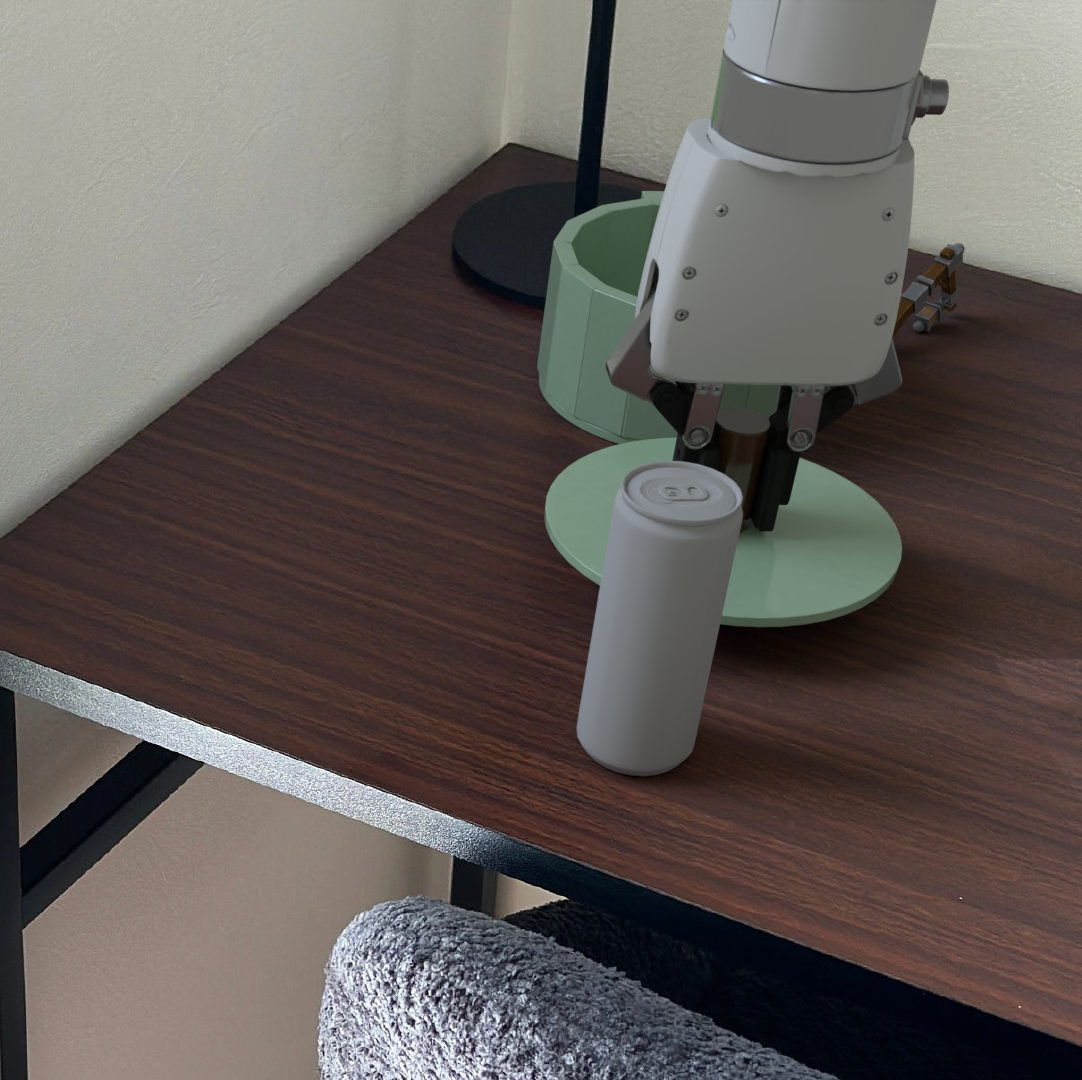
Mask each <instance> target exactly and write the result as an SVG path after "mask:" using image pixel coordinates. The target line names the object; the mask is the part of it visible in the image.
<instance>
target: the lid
mask: <svg viewBox="0 0 1082 1080" xmlns="http://www.w3.org/2000/svg"><path fill="white" fill-rule="evenodd" d="M714 430H715V432H716V434H715V438H714V440H715V442H716V445H717V447H718V449H719V452H720V459H719V464H718V469H717V471H719V472H721V473H723V474H725V475H726V476H728V477H729V478H730V479H732V480H733V481H734V482H735V483H736V484H737V485H738V486H739V488H740V489H741V492H742V496H743V500H742V504H741V507H742V511H743V518H742V523H741V528H740V532H739V537H738V542H737V547H736V551H735V556H734V561H733V565H732V570H731V575H730V580H729V584H728V589H727V594H726V598H725V603H724V608H723V612H722V617H721V622H720V625H723V626H731V627H745V628H785V627H794V626H795V627H796V626H805V625H810V624H816V623H821V622H827V621H830V620H832V619H833V620H834V619H836V618H839V617H843V616H846V615H848V614H851V613H853V612H856V611H859V610H860V609H862V608H864V607H866V606H867V605H869V604H871V603H872V602H875V601H876V600H877V599H878V598H880V596H881V595H883V594H884V593H885V592H886V591H887V590H888V589H889V587H890V586H891V585H892V583H893V582H894V581H895V579H896V576H897V574H898V572H899V569H900V566H901V563H902V556H903V543H902V537H901V535H900V532H899V530H898V528H897V527H898V526H897V525H896V523H895V522H894V520H893V519H892V516H891V515H890V514H889V513H888V511H887V510H886V509H885V508H884V507H883V506H882V505H881V504H880V503H879V501H877V500H876V499H875V498H874V497H873V496H872V495H870V494H869V493H868V492H867V491H866V490H864V489H863V488H861V487H860V486H858V485H857V484H855V483H854V482H852V481H851V480H849V479H847V478H846V477H844V476H842V475H840V474H838V472H837V473H836V472H835V471H833V470H830V469H828V468H826V467H824V466H822V465H820V464H817V463H816V462H812V461H809V460H807V459H805V458H802V457H800V458H799V463H798V467H797V471H796V476H795V480H794V484H793V488H792V493H791V497H790V501H789V503H788V504H787V505H779V508H778V512H777V517H776V521H775V525H774V529H773V531H759V528H755V526H754V523H753V521H752V519H751V515H752V510H753V506H754V501H755V497H756V492H757V488H758V483H759V479H760V474H761V470H762V465H763V461H764V456H765V452H766V447H767V443H768V439H769V434H770V430H771V423H770V421H769V420H768V419H767V418H766V417H765V416H763V415H762V414H759V413H757V412H754V411H750V410H745V409H729V410H725V411H722V412H720V413H719V414H718V415H717V418H716V422H715V426H714ZM676 439H677V438H658V439H646V440H640V441H633V442H627V443H623V444H615V445H614V444H613V445H611V446H607V447H605V448H602V449H599V450H596V451H593V452H591V453H589V454H586V455H584V456H583V457H580V458H579V459H577V460H575V461H574V462H572V463H571V464H569V465H567V467H566V468H564V469H563V470H562V471H561V472H560V473H559V474H558V475H557V477H555V479H554V481H553V482H552V483H551V485H550V487H549V489H548V492H547V494H546V497H545V504H544V511H543V517H544V524H545V529H546V531H547V534H548V536H549V538H550V541H551V542H552V544H553V546H554V547H555V548H556V550H557V551H558V553H559V554H560V555H561V556H562V557H563V558H564V559H565V560H566V562H568V563H569V565H571V567H573V568H574V569H575V570H577V571H578V572H579V573H580V574H582V576H584V577H585V578H587V579H588V580H590V581H592V582H593V583H595V584H597V585H598V586H599V587H600V584H601V578H602V572H603V566H604V560H605V554H606V548H607V542H608V536H609V530H610V524H611V518H612V512H613V506H614V501H615V498H616V495H617V492H618V490H619V489H620V488H621V482H622V480H623V477H624V475H626V474H627V473H628V472H629V471H630V470H631V469H633V468H635V467H637V466H639V465H642V464H646V463H651V462H658V461H672V460H673V455H674V450H675V444H676Z"/></svg>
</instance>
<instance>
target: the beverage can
mask: <svg viewBox="0 0 1082 1080" xmlns="http://www.w3.org/2000/svg"><path fill="white" fill-rule="evenodd" d="M742 500H743V496H742V492H741V489H740V488H739V486H738V485H737V484H736V483H735V482H734V481H733V480H732V479H730V478H729V477H728V476H726V475H725V474H723V473H721V472H719V471H717V470H715V469H712V468H709V467H706V466H703V465H699V464H694V463H689V462H683V461H658V462H651V463H646V464H642V465H639V466H637V467H635V468H633V469H631V470H630V471H629V472H628V473H627V474H626V475H624V477H623V480H622V482H621V488H620V489H619V490H618V492H617V495H616V498H615V501H614V506H613V512H612V518H611V524H610V530H609V536H608V542H607V548H606V554H605V560H604V566H603V572H602V578H601V584H600V586H599V590H598V596H597V601H596V602H597V603H596V608H595V614H594V620H593V626H592V631H591V632H592V633H591V638H590V644H589V649H588V654H587V655H588V656H587V661H586V668H585V673H584V681H583V685H582V691H581V699H580V704H579V711H578V715H577V721H576V736H577V739H578V741H579V742H580V744H581V746H582V748H583V749H584V751H585V752H586V753H587V755H588V756H589V757H590V758H591V759H593V761H594V762H596V763H597V764H599V765H600V766H602V767H604V768H606V769H608V770H610V771H613V772H615V773H618V774H622V775H628V776H634V777H649V776H650V777H651V776H658V775H661V774H664V773H667V772H669V771H671V770H673V769H675V768H676V767H678V766H679V765H680V764H681V763H683V762H684V761H685V760H687V759H688V758H689V756H690V755H691V754H692V753H693V751H694V747H695V745H696V739H697V734H698V730H699V725H700V720H701V716H702V710H703V706H704V702H705V696H706V692H707V688H708V682H709V677H710V673H711V668H712V663H713V660H714V654H715V650H716V646H717V640H718V635H719V631H720V625H721V624H720V622H721V617H722V612H723V608H724V603H725V598H726V594H727V589H728V584H729V580H730V575H731V570H732V565H733V561H734V556H735V551H736V547H737V542H738V537H739V532H740V528H741V523H742V518H743V511H742V507H741V504H742Z"/></svg>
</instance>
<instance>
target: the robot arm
mask: <svg viewBox="0 0 1082 1080" xmlns="http://www.w3.org/2000/svg"><path fill="white" fill-rule="evenodd" d="M937 1H938V0H731V2H730V7H729V8H730V9H729V14H728V21H727V24H726V25H727V26H726V31H725V36H724V43H723V47H722V51H721V57H720V62H719V68H718V72H717V73H718V74H717V79H716V84H715V90H714V96H713V100H712V106H711V111H710V118H707V117H706V118H698V119H694V120H692V121H691V122H690V123H689V124H688V125H687V128H686V130H685V132H684V135H683V137H682V139H681V142H680V144H679V147H678V150H677V152H676V155H675V158H674V161H673V163H672V166H671V169H670V172H669V175H668V178H667V181H666V185H665V188H664V194H663V198H662V201H661V204H660V208H659V211H658V215H657V219H656V222H655V226H654V229H653V234H652V238H651V241H650V245H649V249H648V253H647V257H646V261H645V265H644V269H643V273H642V278H641V283H640V287H639V292H638V298H637V304H636V312H635V320H634V322H633V323H632V325H631V326H630V328H629V329H628V331H627V332H626V334H625V335H624V336H623V338H622V339H621V341H620V342H619V344H618V345H617V347H616V348H615V350H614V351H613V353H612V354H611V356H610V357H609V359H608V360H607V362H606V370H607V373H608V376H609V379H610V381H611V383H612V385H613V386H615V387H616V388H618V389H620V390H622V391H624V392H626V393H628V394H630V395H633V396H635V397H637V398H639V399H641V400H643V401H644V400H645V401H647V402H649V403H651V404H653V405H654V406H655V408H656V409H657V410H658V411H659V412H660V413H661V415H662V416H663V417H664V418H665V419H666V420H667V421H668V422H669V424H670V425H671V426H672V427H673V428H674V429H675V430H676V431H677V433H678V434H677V439H676V444H675V450H674V455H673V460H672V461H683V462H689V463H694V464H699V465H703V466H706V467H709V468H712V469H715V470H717V469H718V464H719V459H720V452H719V449H718V447H717V445H716V442H715V440H714V438H715V434H716V432H715V430H714V426H715V422H716V418H717V414H718V411H719V407H720V403H721V399H722V395H723V391H724V387H725V384H737V385H778V386H777V392H776V398H775V404H774V410H773V414H772V415H771V416H769V419H768V420H769V421H770V423H771V430H770V434H769V439H768V443H767V447H766V452H765V456H764V461H763V465H762V470H761V474H760V479H759V483H758V488H757V492H756V497H755V501H754V506H753V510H752V515H751V519H752V521H753V523H754V526H755V528H759V531H773V529H774V525H775V521H776V517H777V512H778V508H779V505H787V504H788V503H789V501H790V497H791V493H792V488H793V484H794V480H795V476H796V471H797V467H798V463H799V458H801V454H802V452H804V451H806V450H807V451H808V450H809V449H810V448H811V447H812V446H813V445H814V444H815V440H816V437H817V435H818V434H819V433H821V432H822V431H823V430H825V429H826V428H827V427H829V426H830V425H831V424H833V423H834V422H836V421H837V420H839V419H840V418H841V417H843V416H844V415H845V414H846V413H849V411H850V410H851V409H852V408H853V406H856V405H859V406H862V405H864V404H866V403H869V402H871V401H874V400H877V399H880V398H882V397H885V396H888V395H891V394H893V393H895V392H897V391H898V390H899V389H900V388H901V387H902V384H903V376H902V371H901V368H900V363H899V360H898V355H897V351H896V346H895V343H894V339H893V338H892V336H893V332H894V327H895V323H896V318H897V314H898V308H899V303H900V300H901V295H902V293H903V285H904V279H905V273H906V268H907V261H908V260H907V259H908V252H909V245H910V244H909V243H910V237H911V236H910V235H911V227H912V226H911V225H912V214H913V204H914V203H913V202H914V187H915V150H914V147H913V145H912V144H911V141H910V139H909V137H910V134H911V129H912V126H913V125H914V123H915V121H916V119H923V118H924V117H926V115H927V116H928V115H929V116H941V115H943V114H944V113H945V111H946V108H947V107H948V102H949V96H950V86H949V83H948V80H947V79H943V78H942V79H941V78H940V79H939V78H930V76H929V75H928V74H924V73H923V72H922V70H921V67H922V62H923V57H924V54H925V50H926V46H927V41H928V37H929V33H930V29H931V26H932V21H933V17H934V13H935V9H936V4H937ZM655 287H656V288H655Z"/></svg>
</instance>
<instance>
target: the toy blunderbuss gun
mask: <svg viewBox="0 0 1082 1080" xmlns="http://www.w3.org/2000/svg"><path fill="white" fill-rule="evenodd" d="M965 250H966V248H965V245H964V244H963V243H961V242H956V243H954V244H950V243H947V244H946V246H944V247H943V249H942V250H941V251H940V252H939V253H938V255H937V256H936V257H935V258H933V264H932V265H931V266H930V267H929V269H927V270H926V271H925V272H924V274H922V275H920V274H919V275H918V276H917V277H915V281H912V282H911V284H910V286H908V288H907V289H906V290H905V291H904V292H902V293H901V298H900V303H899V308H898V314H897V318H896V323H895V327H894V332H893V336H892V338H893V340H894V339H895V337H896V336H897V335H898V333H899V331H900V330H901V328H903V326H904V324H905V323H906V321H907V320H908V319H909V318H910V317H911V316H912V315H914V317H913V318H914V319H913V322H914V323H913V325H912V329H913V331H914V332H916V333H921V332H923V331H925V332H927V333H930V331H931V328H932V327H933V325H934V324H935V323H936V321H937V322H942V311H944V310H945V311H947V312H950V313H952V312H953V311H954V310H955V309H956V308H957V306H958V305H957V302H958V300H957V299H958V298H959V289H958V287H956V286H957V284H956V283H957V281H956V269H957V268H958V267H959V266H960V265H961V264H962V263H963V262H964V254H965V253H964V252H965ZM937 286H939V287H941V289H940V291H939V299H938V300H936V299H933V302H932V303H931V302H929V297H930V298H933V295H935V289H936V288H937ZM922 306H923V308H922V309H921V310H920V308H921V307H922ZM919 310H920V311H919ZM918 311H919V312H918Z"/></svg>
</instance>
